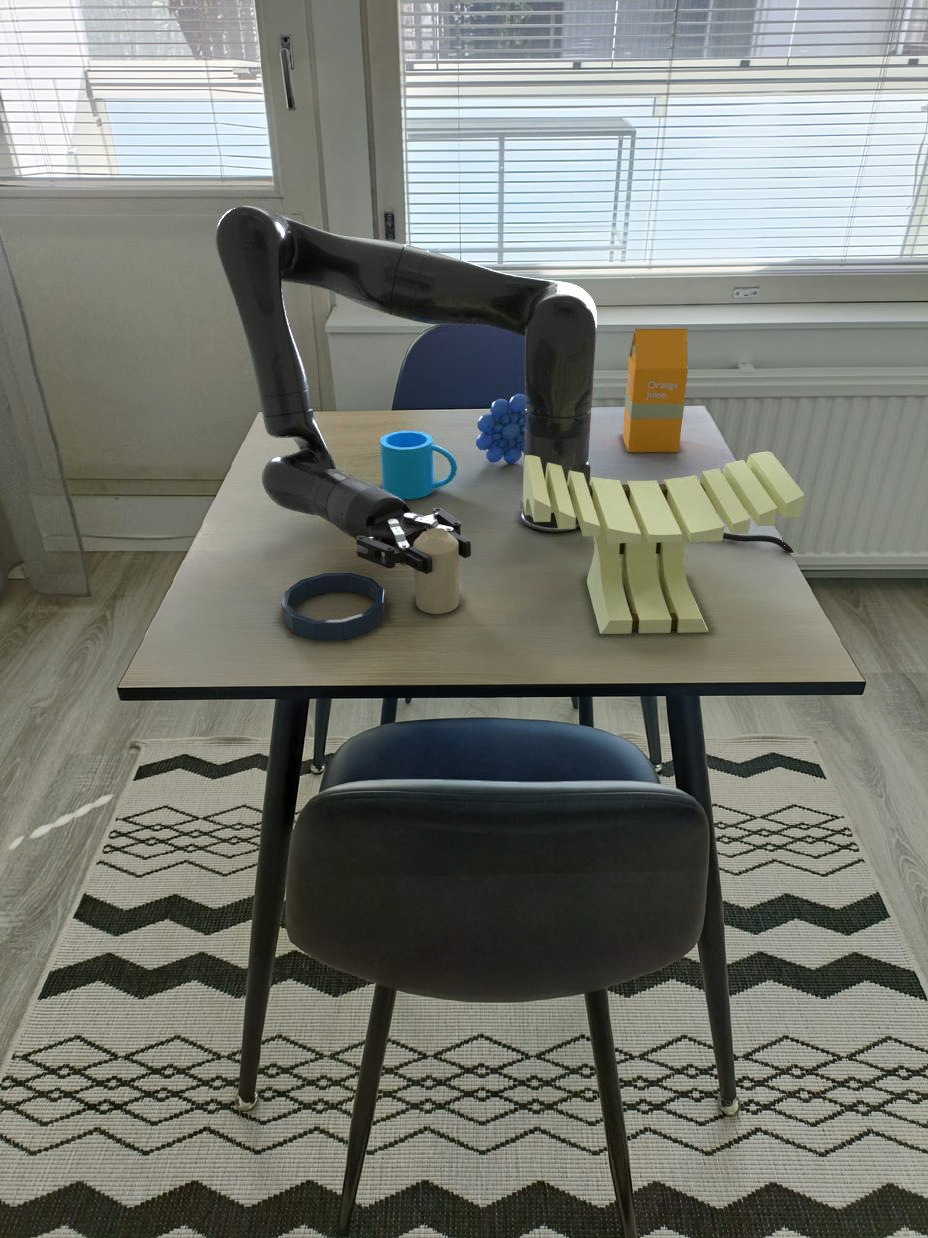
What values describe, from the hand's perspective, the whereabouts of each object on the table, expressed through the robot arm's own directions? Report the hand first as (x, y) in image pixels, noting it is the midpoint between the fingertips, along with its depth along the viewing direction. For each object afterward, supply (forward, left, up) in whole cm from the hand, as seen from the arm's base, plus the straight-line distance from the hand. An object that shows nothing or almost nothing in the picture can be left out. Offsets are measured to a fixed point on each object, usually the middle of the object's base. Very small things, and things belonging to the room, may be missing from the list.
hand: (449, 558), depth 116 cm
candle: (+2, -2, -8) cm, 8 cm away
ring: (+15, 0, -7) cm, 16 cm away
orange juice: (-35, -56, -8) cm, 67 cm away
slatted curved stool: (-24, -2, -8) cm, 26 cm away
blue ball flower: (-10, -49, -8) cm, 51 cm away
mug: (+5, -38, -8) cm, 39 cm away
